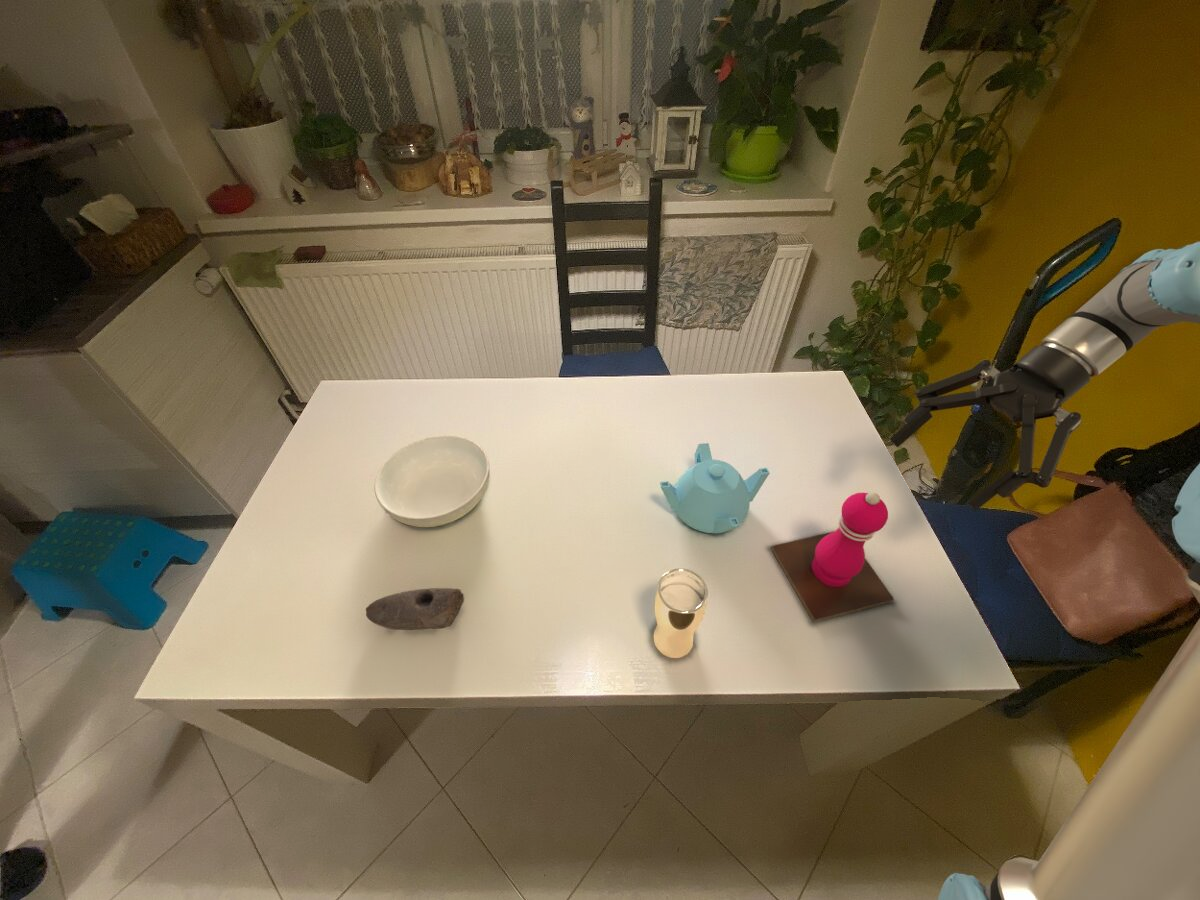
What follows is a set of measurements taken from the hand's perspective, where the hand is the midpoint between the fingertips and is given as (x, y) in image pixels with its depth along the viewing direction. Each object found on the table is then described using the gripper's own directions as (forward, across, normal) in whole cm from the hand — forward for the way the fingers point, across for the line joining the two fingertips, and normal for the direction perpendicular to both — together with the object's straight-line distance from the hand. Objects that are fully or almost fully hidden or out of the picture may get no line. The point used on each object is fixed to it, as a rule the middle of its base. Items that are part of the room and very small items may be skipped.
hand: (929, 473), depth 73 cm
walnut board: (+22, 0, -7) cm, 23 cm away
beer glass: (+43, +1, +13) cm, 45 cm away
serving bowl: (+62, +44, +32) cm, 83 cm away
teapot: (+30, +20, 0) cm, 36 cm away
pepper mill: (+21, 0, -7) cm, 22 cm away
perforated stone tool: (+68, +21, +38) cm, 80 cm away
